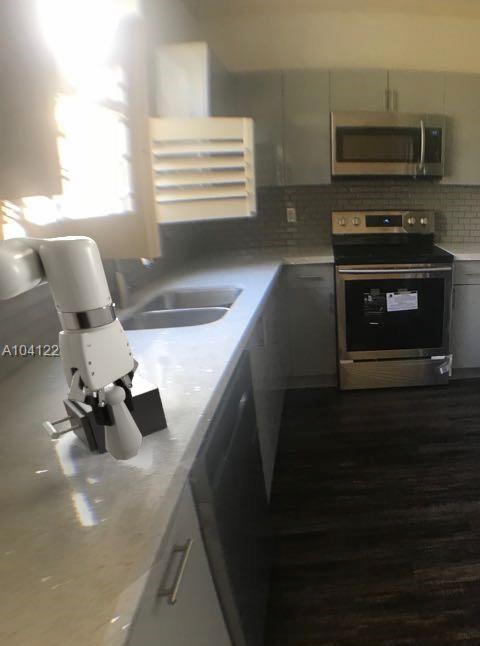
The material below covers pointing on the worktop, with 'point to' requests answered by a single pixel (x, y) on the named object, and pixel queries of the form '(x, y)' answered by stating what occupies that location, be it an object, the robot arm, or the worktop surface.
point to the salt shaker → (121, 427)
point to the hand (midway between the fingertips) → (116, 416)
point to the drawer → (73, 425)
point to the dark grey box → (144, 415)
